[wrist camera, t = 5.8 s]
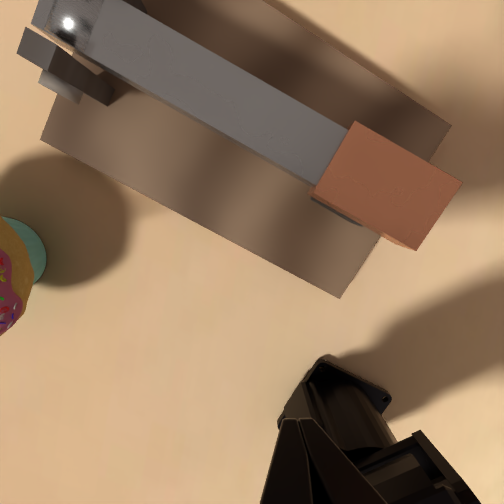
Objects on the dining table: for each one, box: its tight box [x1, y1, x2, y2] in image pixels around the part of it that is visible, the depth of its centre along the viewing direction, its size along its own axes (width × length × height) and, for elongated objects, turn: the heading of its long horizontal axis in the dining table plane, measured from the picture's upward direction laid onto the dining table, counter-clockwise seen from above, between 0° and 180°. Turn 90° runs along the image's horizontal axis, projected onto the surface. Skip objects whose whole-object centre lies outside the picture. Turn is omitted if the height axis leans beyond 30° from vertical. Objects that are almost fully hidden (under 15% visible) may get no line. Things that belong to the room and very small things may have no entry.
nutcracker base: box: [17, 0, 452, 299], centre depth 15 cm, size 20×12×6 cm, turn 61°
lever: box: [31, 0, 463, 251], centre depth 13 cm, size 18×3×2 cm, turn 61°
